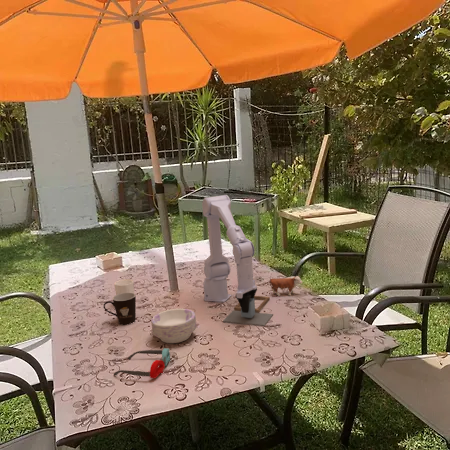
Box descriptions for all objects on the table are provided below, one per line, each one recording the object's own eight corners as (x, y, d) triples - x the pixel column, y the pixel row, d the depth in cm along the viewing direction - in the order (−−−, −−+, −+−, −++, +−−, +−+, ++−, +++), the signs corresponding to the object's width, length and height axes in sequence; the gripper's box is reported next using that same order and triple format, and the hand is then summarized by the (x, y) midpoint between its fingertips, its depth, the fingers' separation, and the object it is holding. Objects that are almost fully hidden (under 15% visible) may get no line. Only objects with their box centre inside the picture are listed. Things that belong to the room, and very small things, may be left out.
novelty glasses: (158, 383, 135) (156, 367, 134) (110, 380, 138) (108, 364, 137) (174, 359, 148) (172, 345, 147) (130, 357, 151) (128, 343, 150)
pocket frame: (234, 310, 182) (233, 307, 182) (246, 297, 195) (246, 295, 194) (258, 312, 178) (258, 309, 178) (269, 299, 191) (269, 296, 191)
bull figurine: (302, 296, 192) (301, 277, 190) (269, 296, 194) (268, 277, 193) (303, 292, 196) (302, 274, 194) (270, 292, 199) (269, 274, 197)
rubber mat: (222, 322, 172) (222, 320, 172) (233, 311, 181) (233, 310, 181) (264, 326, 166) (264, 324, 166) (273, 315, 175) (272, 314, 175)
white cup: (139, 303, 197) (137, 281, 195) (124, 310, 192) (121, 286, 190) (128, 300, 203) (126, 278, 201) (113, 306, 197) (110, 283, 195)
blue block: (241, 316, 172) (240, 301, 171) (245, 312, 176) (244, 297, 175) (251, 317, 171) (250, 302, 170) (255, 313, 174) (254, 298, 173)
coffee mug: (142, 317, 182) (139, 293, 180) (131, 326, 174) (128, 301, 172) (116, 315, 186) (113, 291, 184) (104, 324, 178) (101, 299, 176)
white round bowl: (148, 334, 166) (146, 313, 165) (189, 325, 172) (187, 304, 171) (160, 352, 153) (157, 329, 151) (203, 340, 158) (201, 318, 157)
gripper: (248, 281, 162) (251, 318, 165) (262, 269, 175) (264, 303, 178) (229, 280, 165) (232, 316, 168) (244, 268, 178) (246, 302, 181)
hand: (247, 310), depth 173 cm, fingers closed on blue block, 4 cm apart
